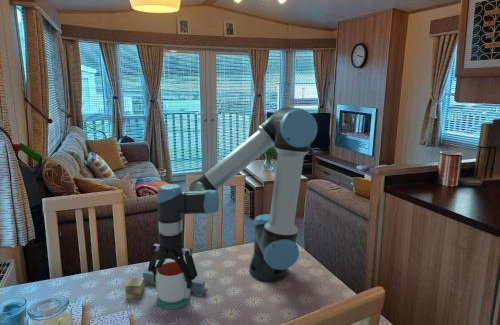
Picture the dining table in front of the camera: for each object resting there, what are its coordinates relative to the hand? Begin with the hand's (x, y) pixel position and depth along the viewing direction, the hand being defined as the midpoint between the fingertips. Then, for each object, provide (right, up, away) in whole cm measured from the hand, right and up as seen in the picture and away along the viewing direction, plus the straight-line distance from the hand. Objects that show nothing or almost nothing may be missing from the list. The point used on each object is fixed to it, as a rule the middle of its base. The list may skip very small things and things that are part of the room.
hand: (173, 293), depth 117 cm
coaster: (0, -2, 0) cm, 2 cm away
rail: (-2, -1, +8) cm, 8 cm away
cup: (0, -1, 0) cm, 1 cm away
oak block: (-14, -2, +3) cm, 14 cm away
